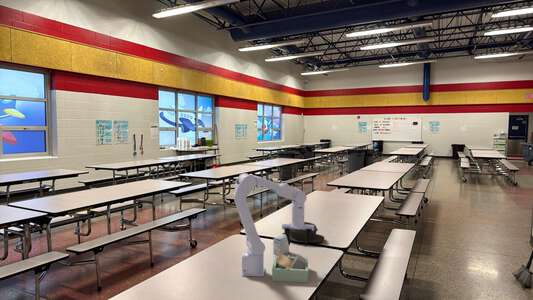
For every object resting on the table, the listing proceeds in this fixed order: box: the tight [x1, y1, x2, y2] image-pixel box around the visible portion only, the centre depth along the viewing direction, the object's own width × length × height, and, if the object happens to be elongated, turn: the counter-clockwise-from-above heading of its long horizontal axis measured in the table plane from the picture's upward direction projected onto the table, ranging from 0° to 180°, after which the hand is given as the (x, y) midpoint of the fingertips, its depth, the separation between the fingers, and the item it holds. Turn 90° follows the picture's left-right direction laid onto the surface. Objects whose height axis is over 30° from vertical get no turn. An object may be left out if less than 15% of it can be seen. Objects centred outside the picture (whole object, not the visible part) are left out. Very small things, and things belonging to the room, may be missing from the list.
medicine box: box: [272, 233, 290, 256], centre depth 166 cm, size 8×4×9 cm, turn 141°
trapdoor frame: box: [271, 255, 309, 284], centre depth 142 cm, size 15×14×6 cm
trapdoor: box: [277, 252, 293, 269], centre depth 142 cm, size 12×11×3 cm
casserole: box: [282, 221, 325, 244], centre depth 187 cm, size 25×19×8 cm
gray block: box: [292, 253, 307, 269], centre depth 141 cm, size 4×4×5 cm
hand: (297, 244), depth 149 cm, fingers open, 7 cm apart
